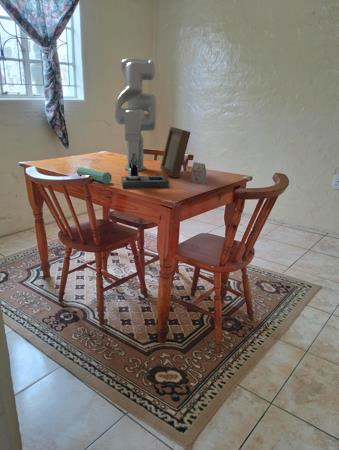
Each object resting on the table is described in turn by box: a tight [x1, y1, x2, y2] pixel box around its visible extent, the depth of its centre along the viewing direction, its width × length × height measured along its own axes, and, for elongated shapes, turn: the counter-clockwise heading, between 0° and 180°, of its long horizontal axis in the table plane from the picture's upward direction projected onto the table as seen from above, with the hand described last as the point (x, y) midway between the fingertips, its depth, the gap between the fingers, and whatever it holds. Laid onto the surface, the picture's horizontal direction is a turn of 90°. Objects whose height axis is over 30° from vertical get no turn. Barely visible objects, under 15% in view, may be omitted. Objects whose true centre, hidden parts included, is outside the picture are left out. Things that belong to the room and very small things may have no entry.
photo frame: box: [160, 126, 191, 179], centre depth 197 cm, size 15×22×25 cm
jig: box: [121, 175, 170, 189], centre depth 173 cm, size 12×22×3 cm, turn 100°
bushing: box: [127, 168, 140, 181], centre depth 171 cm, size 5×5×8 cm
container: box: [76, 166, 113, 185], centre depth 181 cm, size 6×6×25 cm
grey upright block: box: [190, 161, 207, 185], centre depth 180 cm, size 4×7×10 cm, turn 48°
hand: (133, 173), depth 171 cm, fingers open, 9 cm apart
